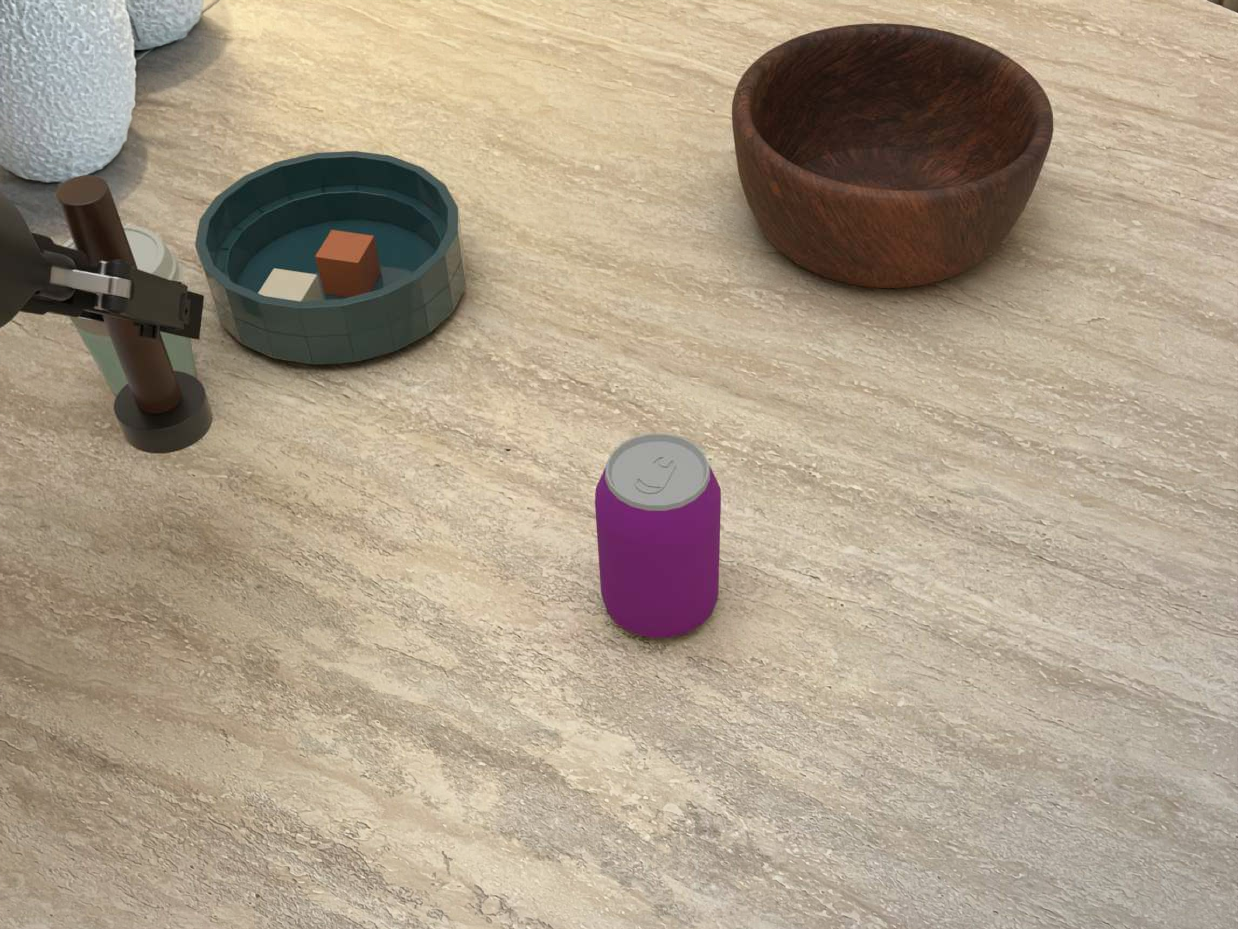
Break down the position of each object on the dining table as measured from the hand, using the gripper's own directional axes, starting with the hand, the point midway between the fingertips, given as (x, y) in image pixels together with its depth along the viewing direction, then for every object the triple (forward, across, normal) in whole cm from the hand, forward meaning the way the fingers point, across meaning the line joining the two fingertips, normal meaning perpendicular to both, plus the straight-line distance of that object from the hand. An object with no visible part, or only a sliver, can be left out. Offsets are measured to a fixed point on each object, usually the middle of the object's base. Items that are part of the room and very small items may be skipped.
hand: (169, 312), depth 91 cm
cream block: (+22, -1, +2) cm, 22 cm away
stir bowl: (+26, 0, +5) cm, 27 cm away
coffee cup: (+16, -9, -5) cm, 19 cm away
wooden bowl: (+40, +40, +18) cm, 59 cm away
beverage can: (+8, +32, -13) cm, 36 cm away
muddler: (+1, 0, -7) cm, 7 cm away
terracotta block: (+26, +1, +6) cm, 26 cm away
